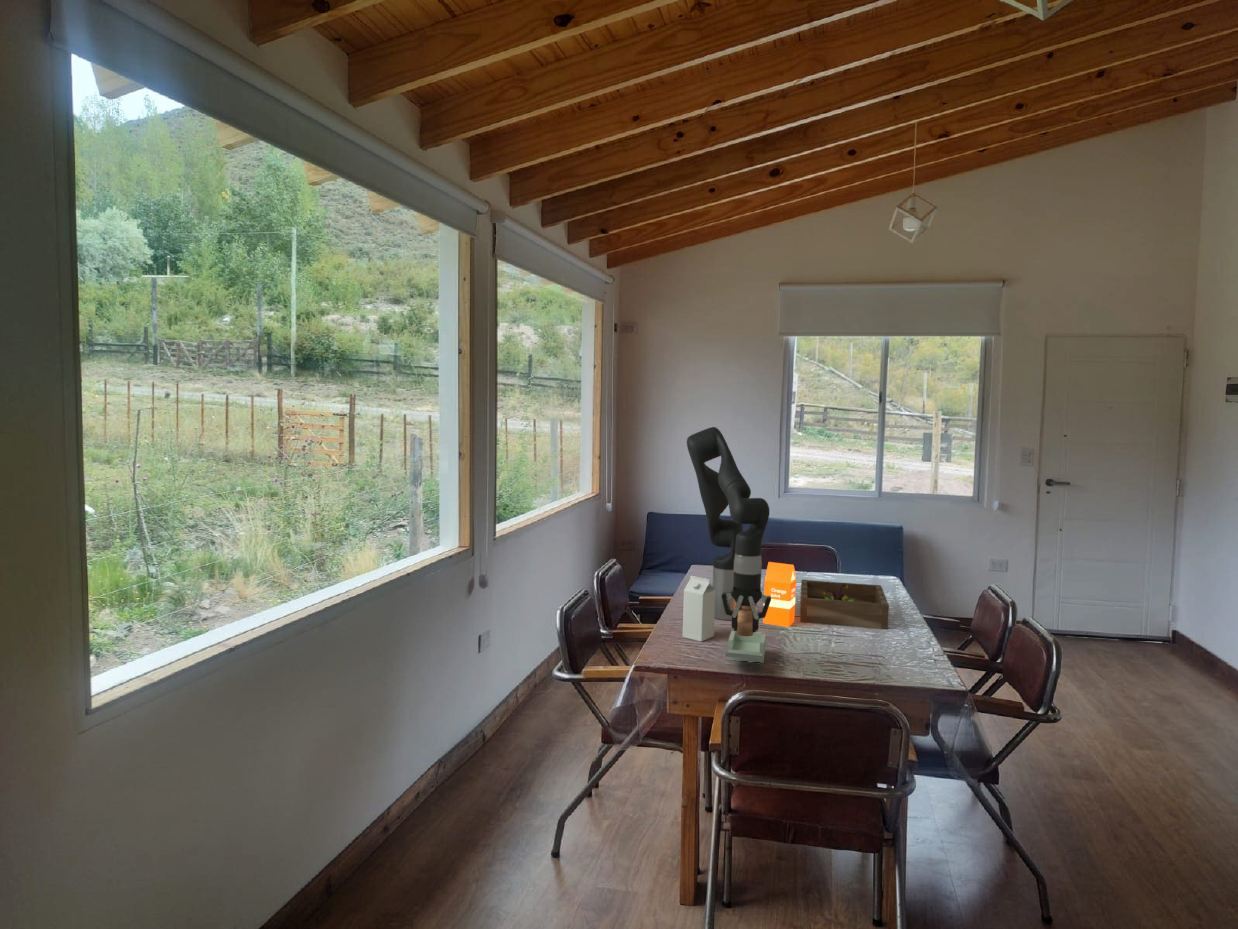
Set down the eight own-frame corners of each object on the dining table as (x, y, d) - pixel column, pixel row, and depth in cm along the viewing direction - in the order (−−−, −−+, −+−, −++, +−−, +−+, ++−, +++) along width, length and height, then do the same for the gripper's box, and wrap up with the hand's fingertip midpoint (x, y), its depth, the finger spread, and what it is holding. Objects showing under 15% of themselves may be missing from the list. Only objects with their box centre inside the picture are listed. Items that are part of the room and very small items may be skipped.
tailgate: (728, 649, 229) (725, 652, 219) (762, 652, 227) (761, 655, 216) (728, 653, 229) (725, 656, 218) (762, 656, 227) (761, 660, 216)
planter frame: (800, 600, 296) (801, 579, 296) (879, 607, 290) (881, 585, 290) (800, 622, 269) (801, 598, 269) (887, 629, 263) (889, 605, 262)
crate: (730, 649, 240) (731, 629, 239) (764, 652, 238) (765, 632, 237) (727, 660, 230) (728, 640, 229) (763, 663, 228) (764, 643, 227)
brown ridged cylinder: (735, 635, 220) (736, 606, 220) (737, 630, 225) (738, 601, 224) (752, 637, 219) (753, 607, 219) (753, 632, 224) (754, 603, 223)
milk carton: (695, 632, 256) (696, 573, 254) (713, 637, 251) (716, 577, 250) (682, 637, 250) (684, 577, 249) (701, 642, 246) (703, 581, 244)
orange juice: (768, 617, 274) (771, 559, 272) (794, 621, 270) (797, 562, 269) (762, 623, 267) (764, 564, 265) (788, 627, 263) (791, 567, 262)
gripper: (719, 571, 218) (717, 632, 220) (773, 575, 215) (770, 637, 217) (722, 565, 226) (720, 624, 227) (774, 569, 222) (771, 629, 224)
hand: (745, 630), depth 222 cm, fingers closed on brown ridged cylinder, 4 cm apart
